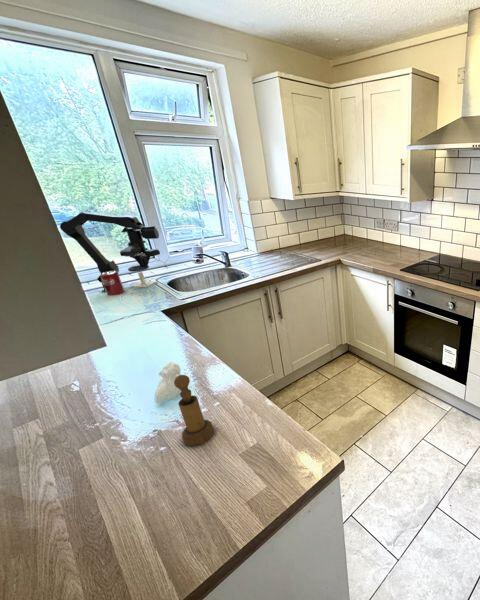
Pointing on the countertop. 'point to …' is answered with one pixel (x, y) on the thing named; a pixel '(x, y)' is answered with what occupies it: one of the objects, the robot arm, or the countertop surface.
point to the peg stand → (143, 281)
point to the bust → (167, 383)
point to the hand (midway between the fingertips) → (144, 267)
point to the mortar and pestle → (192, 415)
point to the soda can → (112, 283)
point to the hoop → (137, 268)
